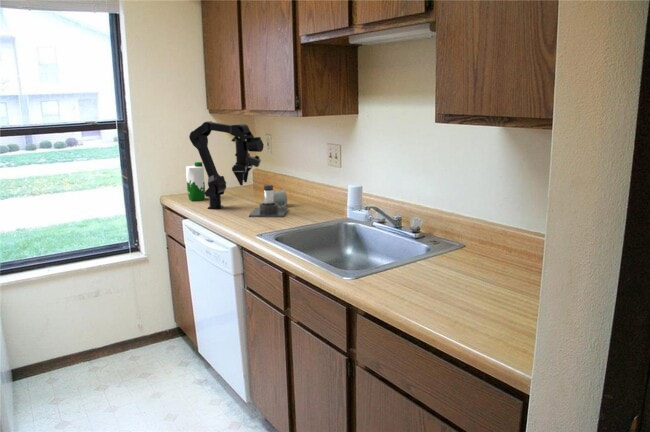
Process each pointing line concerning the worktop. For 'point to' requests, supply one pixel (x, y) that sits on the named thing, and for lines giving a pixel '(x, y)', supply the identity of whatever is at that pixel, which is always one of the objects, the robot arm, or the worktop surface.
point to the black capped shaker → (268, 195)
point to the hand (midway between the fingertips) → (243, 183)
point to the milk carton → (195, 182)
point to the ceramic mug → (280, 198)
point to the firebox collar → (268, 211)
